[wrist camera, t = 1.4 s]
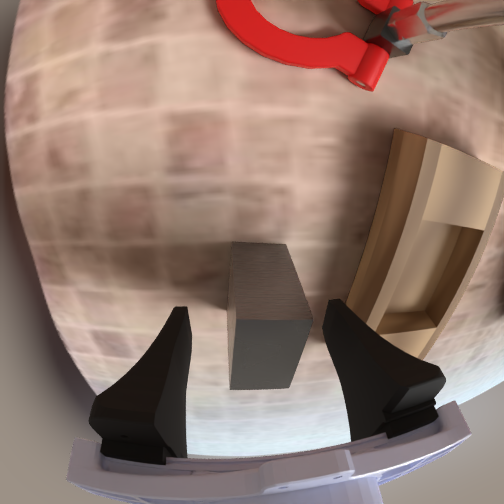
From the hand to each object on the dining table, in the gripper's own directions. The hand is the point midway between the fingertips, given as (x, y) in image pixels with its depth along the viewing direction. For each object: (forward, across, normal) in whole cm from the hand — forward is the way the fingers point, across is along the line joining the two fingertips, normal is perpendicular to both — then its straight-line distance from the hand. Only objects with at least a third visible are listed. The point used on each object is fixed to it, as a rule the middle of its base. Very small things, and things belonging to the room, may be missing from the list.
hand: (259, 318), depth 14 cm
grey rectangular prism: (+3, 0, 0) cm, 3 cm away
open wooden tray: (+3, -11, -1) cm, 11 cm away
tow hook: (+3, -2, -16) cm, 16 cm away
